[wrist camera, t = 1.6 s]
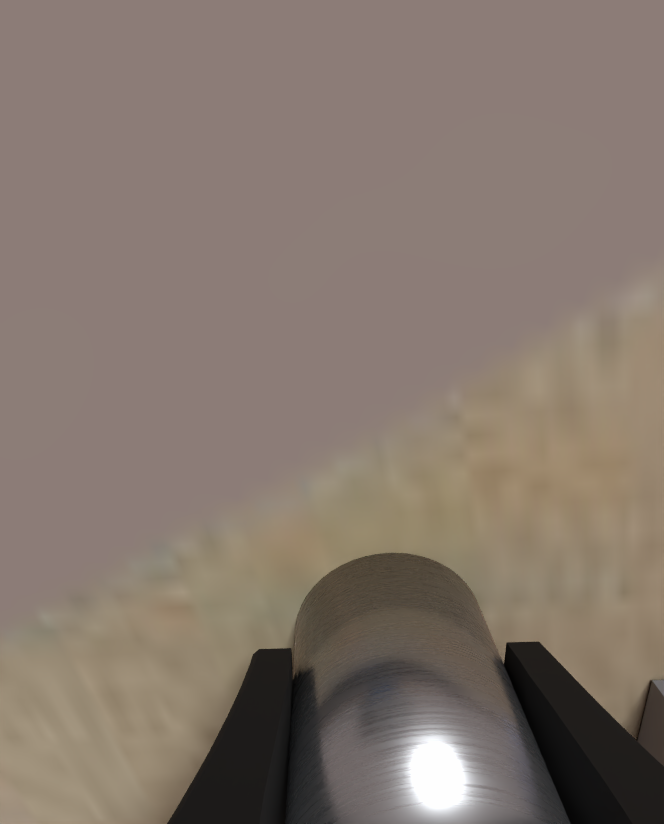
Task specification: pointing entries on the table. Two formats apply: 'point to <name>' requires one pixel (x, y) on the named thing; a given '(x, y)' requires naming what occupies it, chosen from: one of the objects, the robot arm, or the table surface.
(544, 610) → the table surface
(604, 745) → the robot arm
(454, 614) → the cylinder
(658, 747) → the scale
